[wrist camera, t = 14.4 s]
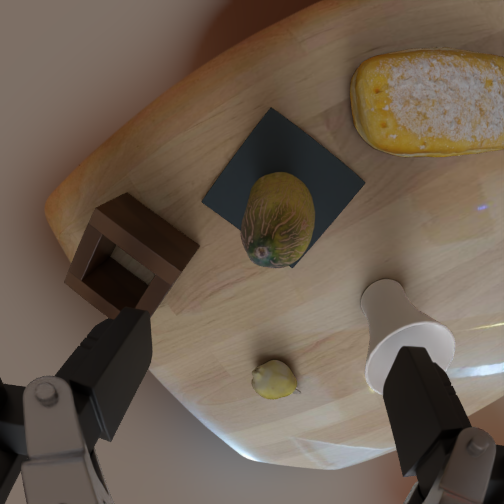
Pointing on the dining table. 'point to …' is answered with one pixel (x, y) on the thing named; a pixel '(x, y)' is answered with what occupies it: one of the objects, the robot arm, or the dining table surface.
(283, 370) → the fruit
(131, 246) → the holder
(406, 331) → the cup
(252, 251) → the vegetable
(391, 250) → the dining table surface
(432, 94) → the bread
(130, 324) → the robot arm
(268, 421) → the dining table surface
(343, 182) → the mat
